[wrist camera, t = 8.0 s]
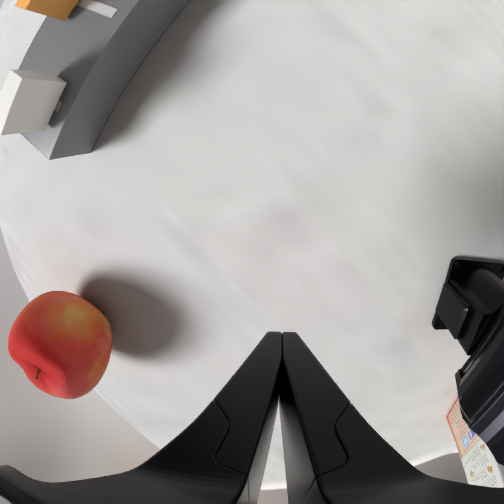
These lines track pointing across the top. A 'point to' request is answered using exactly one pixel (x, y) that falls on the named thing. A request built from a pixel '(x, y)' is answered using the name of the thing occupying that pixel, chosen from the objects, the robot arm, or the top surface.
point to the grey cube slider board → (93, 65)
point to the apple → (61, 344)
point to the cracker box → (474, 453)
